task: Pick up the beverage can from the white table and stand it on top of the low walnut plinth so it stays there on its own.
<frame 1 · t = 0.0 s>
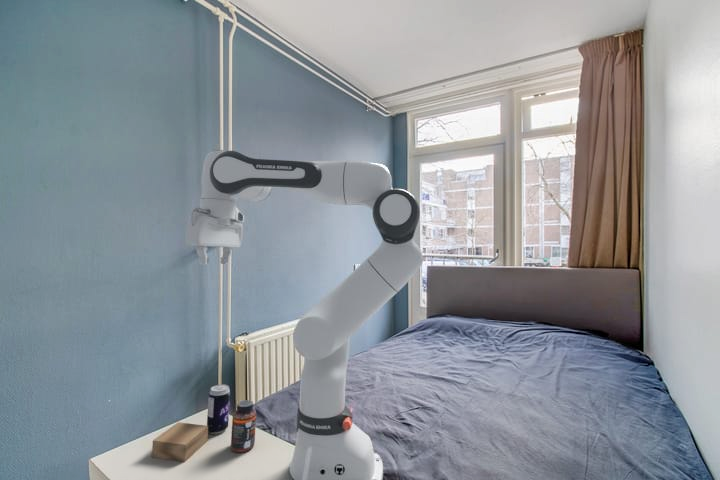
hand: (214, 264, 85), 48 cm above the cabinet, tool pointing down, fingers open, 8 cm apart
beverage can: (217, 430, 93), on the cabinet
supplement bottle: (242, 447, 85), on the cabinet
walnut plinth: (180, 448, 83), on the cabinet
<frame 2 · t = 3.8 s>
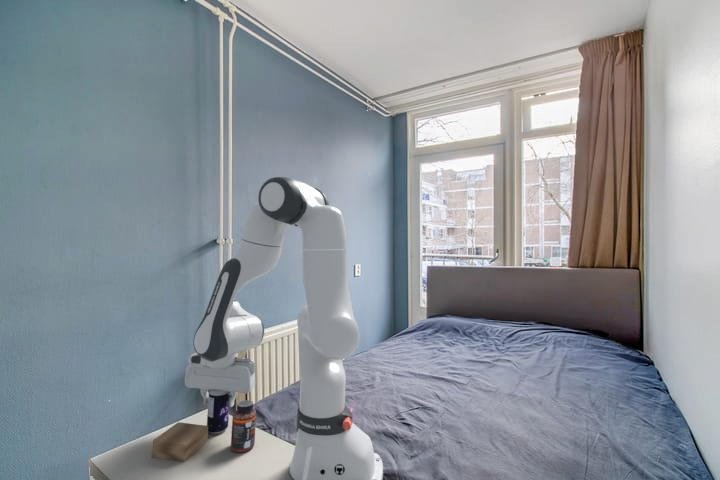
hand: (218, 404, 93), 7 cm above the cabinet, tool pointing down, fingers closed on beverage can, 6 cm apart
beverage can: (217, 430, 93), on the cabinet, touching gripper
everything else where it was.
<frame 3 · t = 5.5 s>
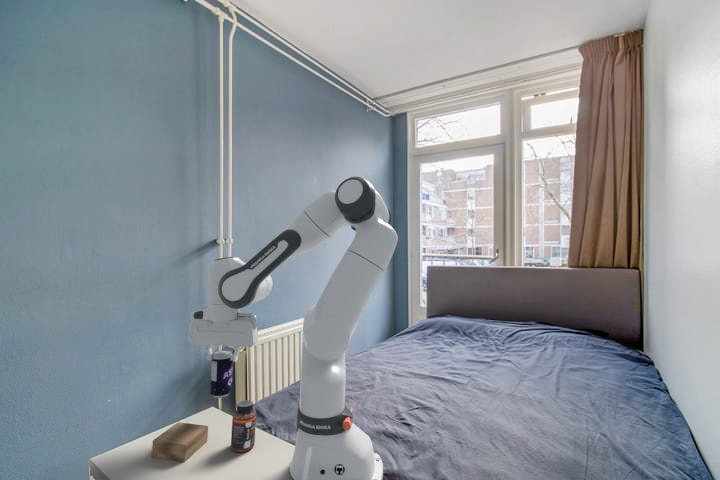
hand: (222, 360, 94), 20 cm above the cabinet, tool pointing down, fingers closed on beverage can, 6 cm apart
beverage can: (220, 395, 93), point 10 cm above the cabinet, touching gripper
everything else where it was.
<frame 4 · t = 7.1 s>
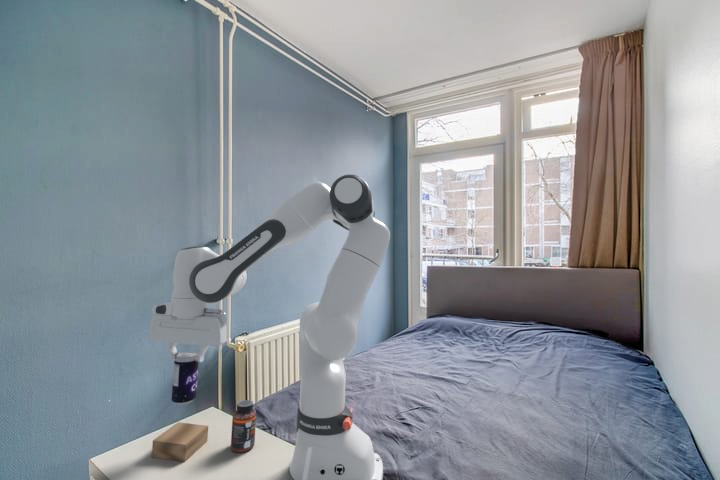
hand: (186, 360, 85), 22 cm above the cabinet, tool pointing down, fingers closed on beverage can, 6 cm apart
beverage can: (183, 402, 84), point 12 cm above the cabinet, touching gripper
everything else where it was.
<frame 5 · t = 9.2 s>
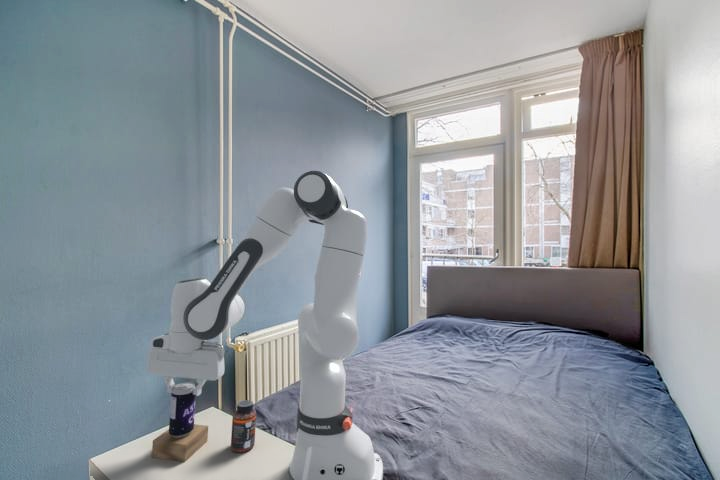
hand: (184, 393, 84), 14 cm above the cabinet, tool pointing down, fingers closed on beverage can, 6 cm apart
beverage can: (181, 434, 83), point 4 cm above the cabinet, touching gripper, walnut plinth
everything else where it was.
when the fingers open (14 cm above the cabinet, at t = 9.8 s): beverage can stays where it is, resting on walnut plinth.
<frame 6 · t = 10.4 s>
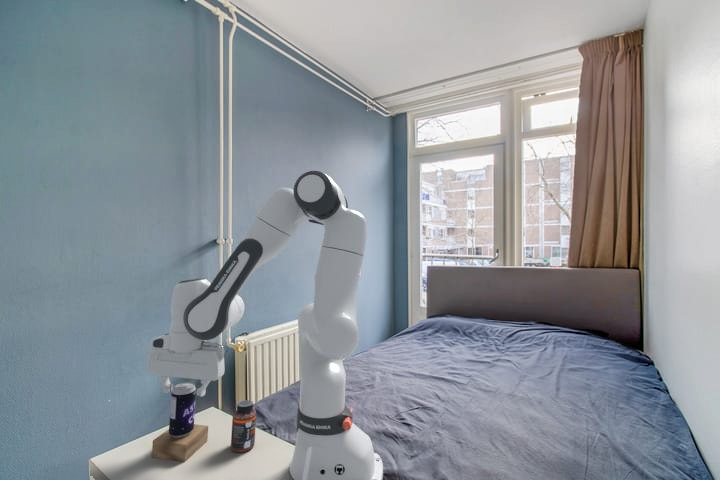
hand: (184, 393, 84), 14 cm above the cabinet, tool pointing down, fingers open, 8 cm apart
beverage can: (181, 434, 83), point 4 cm above the cabinet, touching walnut plinth
everything else where it was.
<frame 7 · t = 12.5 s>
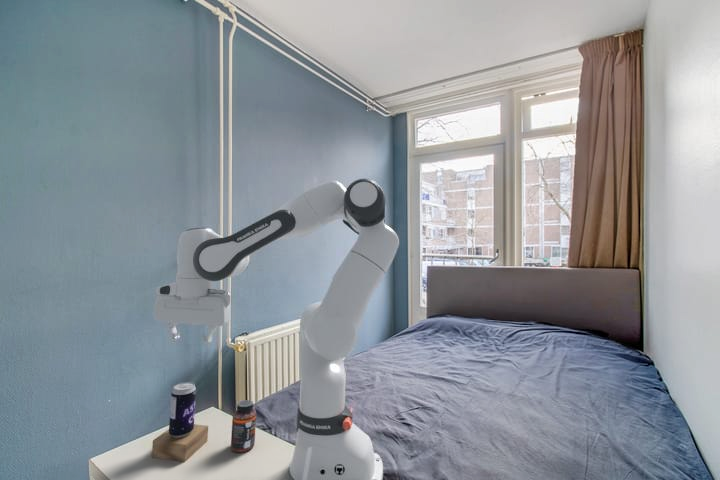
hand: (191, 340, 85), 27 cm above the cabinet, tool pointing down, fingers open, 8 cm apart
nothing on the cabinet moved.
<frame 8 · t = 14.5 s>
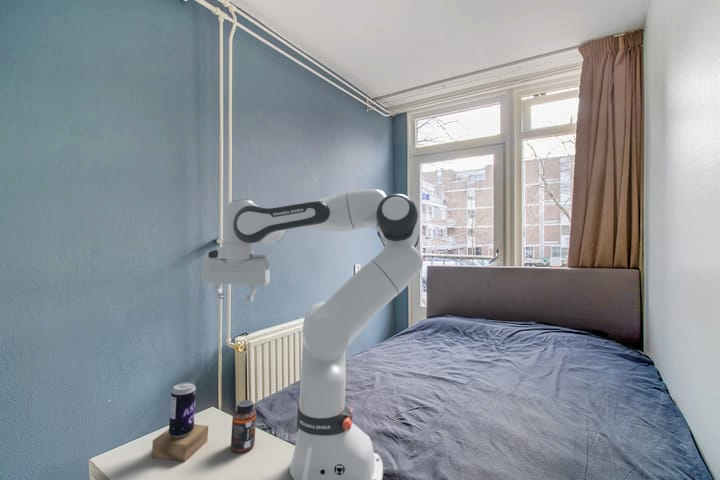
hand: (234, 299, 96), 37 cm above the cabinet, tool pointing down, fingers open, 8 cm apart
nothing on the cabinet moved.
at the end: beverage can inside the target area on the walnut plinth (0.2 cm from its centre), point 3.8 cm above the walnut plinth's base; beverage can tilted 0°; the gripper is holding nothing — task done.
